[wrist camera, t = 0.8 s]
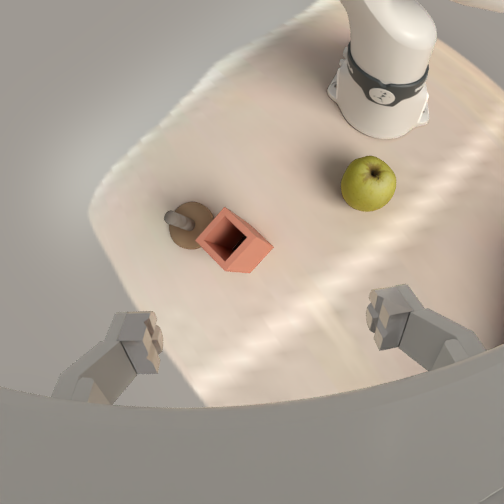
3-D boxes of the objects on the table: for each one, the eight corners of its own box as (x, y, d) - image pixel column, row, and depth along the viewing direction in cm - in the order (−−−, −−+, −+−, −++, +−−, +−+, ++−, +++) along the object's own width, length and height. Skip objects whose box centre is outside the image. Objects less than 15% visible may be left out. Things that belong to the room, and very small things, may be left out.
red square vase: (273, 247, 48) (256, 236, 37) (249, 273, 49) (225, 271, 37) (248, 223, 49) (224, 206, 38) (225, 249, 50) (195, 240, 38)
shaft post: (180, 198, 53) (157, 186, 45) (220, 209, 51) (201, 197, 43) (166, 241, 53) (141, 235, 45) (205, 255, 51) (183, 251, 43)
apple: (385, 221, 44) (399, 207, 35) (336, 211, 46) (338, 194, 37) (391, 174, 45) (405, 150, 35) (344, 164, 47) (347, 138, 37)
